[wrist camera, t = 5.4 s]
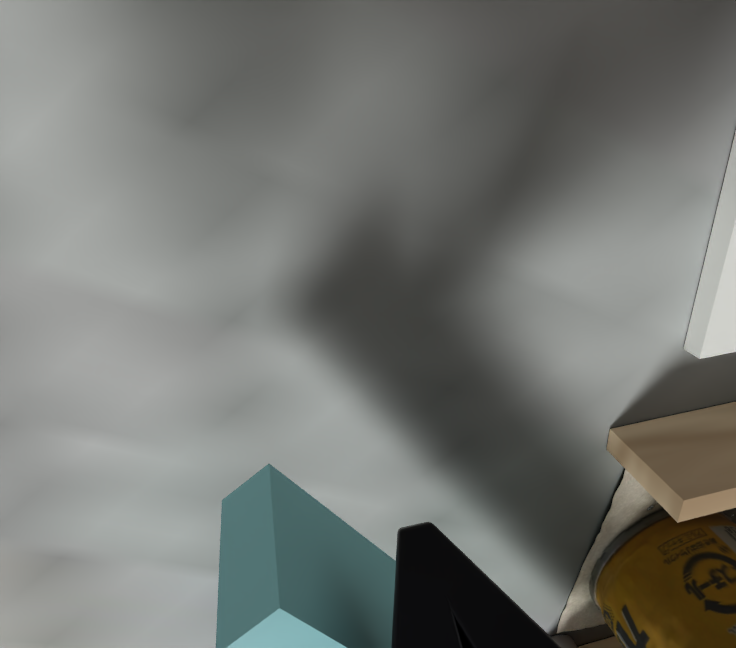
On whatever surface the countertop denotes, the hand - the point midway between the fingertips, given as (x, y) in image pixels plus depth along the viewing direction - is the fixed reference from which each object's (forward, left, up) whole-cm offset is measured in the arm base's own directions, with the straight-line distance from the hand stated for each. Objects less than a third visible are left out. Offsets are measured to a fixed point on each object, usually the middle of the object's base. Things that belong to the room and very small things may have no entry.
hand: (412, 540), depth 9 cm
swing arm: (-6, -2, -2) cm, 6 cm away
